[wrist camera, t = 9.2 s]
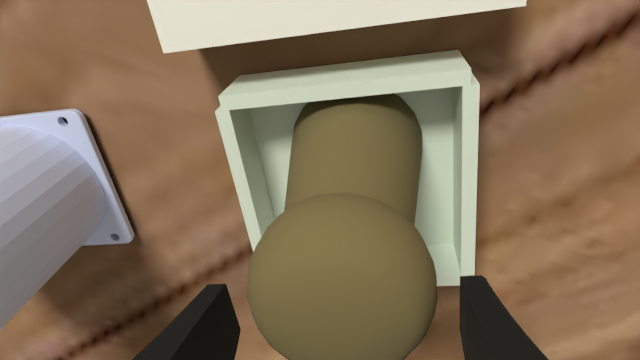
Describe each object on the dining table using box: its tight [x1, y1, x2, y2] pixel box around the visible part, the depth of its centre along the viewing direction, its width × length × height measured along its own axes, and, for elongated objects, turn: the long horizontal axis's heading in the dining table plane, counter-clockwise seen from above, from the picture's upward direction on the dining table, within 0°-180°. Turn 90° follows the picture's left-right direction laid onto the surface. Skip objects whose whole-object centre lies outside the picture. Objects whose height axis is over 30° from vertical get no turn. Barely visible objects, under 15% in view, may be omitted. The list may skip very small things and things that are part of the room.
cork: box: [247, 93, 437, 360], centre depth 15 cm, size 6×6×11 cm
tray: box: [215, 50, 480, 286], centre depth 20 cm, size 10×10×3 cm
